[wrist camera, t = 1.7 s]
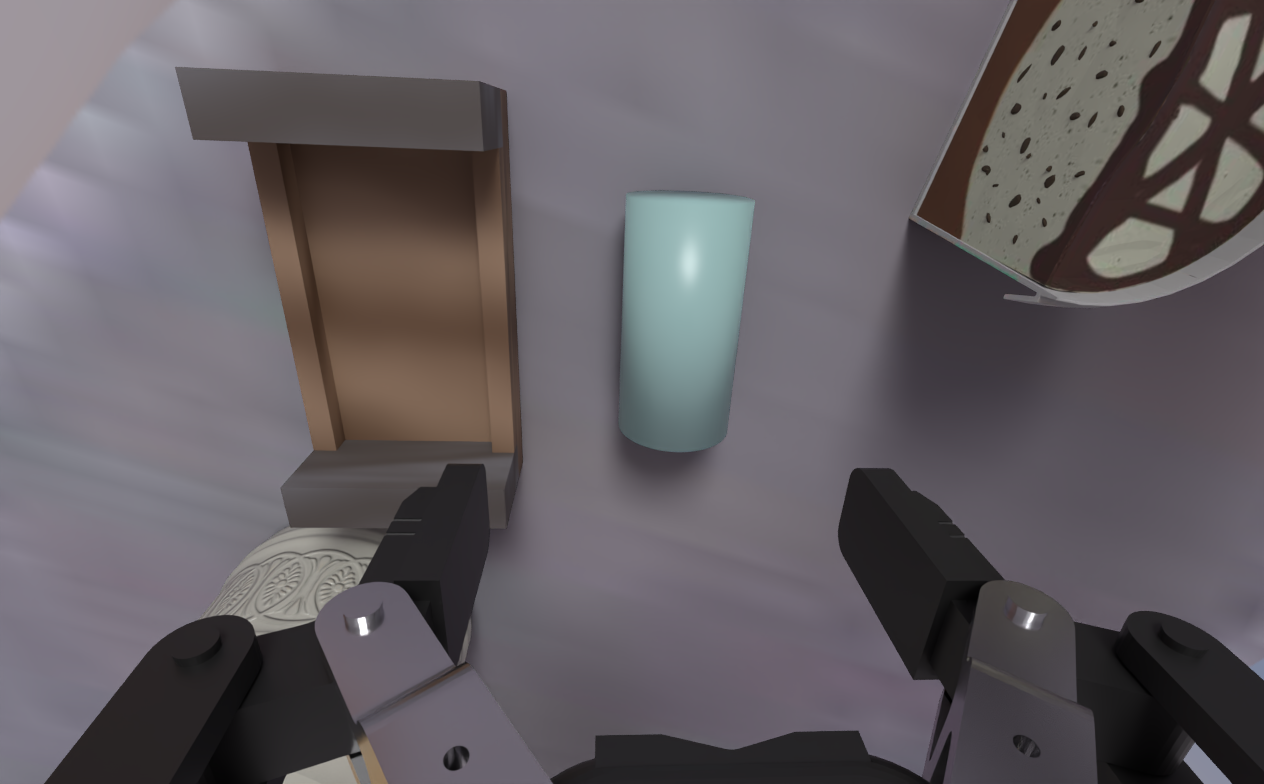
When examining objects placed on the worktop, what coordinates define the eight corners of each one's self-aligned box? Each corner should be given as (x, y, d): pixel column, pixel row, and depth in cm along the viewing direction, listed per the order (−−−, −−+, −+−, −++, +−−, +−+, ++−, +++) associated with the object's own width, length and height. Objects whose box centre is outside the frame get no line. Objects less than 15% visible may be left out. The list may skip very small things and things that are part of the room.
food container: (1010, 287, 27) (1213, 367, 18) (893, 251, 26) (1045, 316, 17) (1179, -16, 22) (1571, -112, 13) (1044, -73, 22) (1366, -219, 12)
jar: (203, 617, 33) (-166, 1071, 17) (310, 465, 30) (-37, 867, 14) (403, 709, 37) (252, 1150, 21) (521, 585, 33) (445, 1008, 17)
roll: (599, 193, 23) (698, 208, 19) (683, 188, 26) (780, 201, 23) (595, 421, 27) (677, 465, 24) (669, 392, 30) (749, 427, 27)
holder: (270, 80, 22) (175, 66, 17) (506, 90, 23) (479, 81, 18) (343, 459, 29) (290, 527, 24) (522, 461, 30) (506, 528, 25)
